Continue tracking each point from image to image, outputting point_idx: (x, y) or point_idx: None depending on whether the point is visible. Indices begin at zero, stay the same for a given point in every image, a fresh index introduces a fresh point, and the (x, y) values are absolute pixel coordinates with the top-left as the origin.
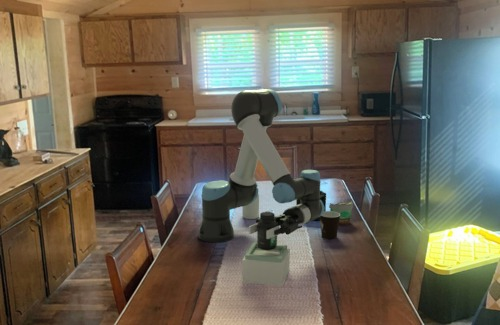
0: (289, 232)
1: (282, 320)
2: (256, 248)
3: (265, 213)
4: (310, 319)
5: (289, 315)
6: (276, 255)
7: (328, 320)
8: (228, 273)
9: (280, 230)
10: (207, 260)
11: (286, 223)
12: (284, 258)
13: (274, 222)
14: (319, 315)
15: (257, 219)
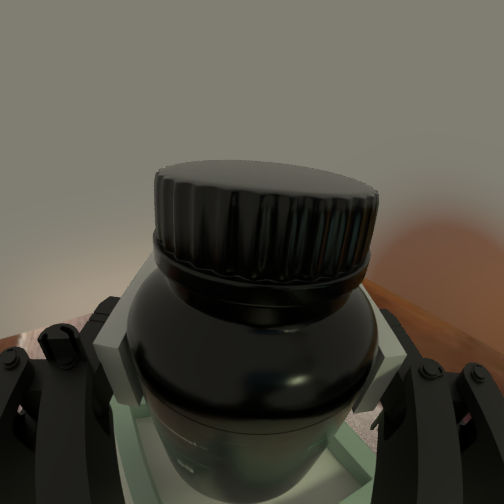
0: (22, 412)
1: (87, 314)
2: (352, 483)
3: (298, 172)
4: (39, 330)
5: (77, 329)
6: (180, 478)
7: (11, 336)
8: (356, 422)
9: (84, 337)
10: (465, 420)
11: (37, 499)
12: (119, 458)
13: (148, 287)
14: (23, 345)
15: (477, 371)
